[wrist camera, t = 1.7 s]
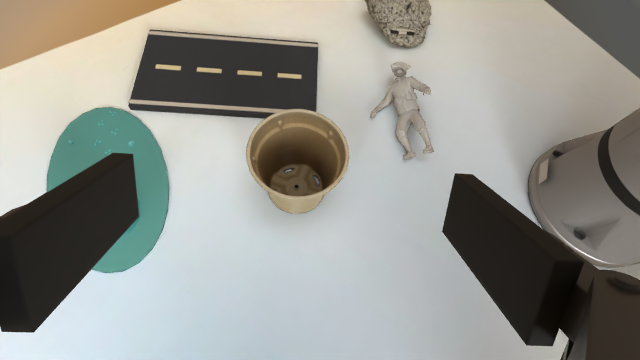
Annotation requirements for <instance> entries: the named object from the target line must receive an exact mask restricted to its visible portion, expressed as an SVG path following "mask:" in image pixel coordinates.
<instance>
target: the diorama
mask: <svg viewBox="0 0 640 360" xmlns="http://www.w3.org/2000/svg"><path fill="white" fill-rule="evenodd" d="M111 153H128V154H133V158H134V168H135V178H136V189H137V199H138V209H139V217H138V219H137V220H136V221H135V222H134V223H133V224H132V225H131V226H130V227H129V228H128V230H127V231H126V232H125V233H124V234H123V235H122V236H121V237H120V238H119V239H118V240H117V242H116V243H115V244H114V245H113V246H112V247H111V248H110V249H109V250H108V251H107V253H106V254H105V255H104V256H103V257H102V258H101V259H100V260H99V261H98V262H97V264H96V265H95V266H94V267H93V268H92V269H93V270H97V271H100V272H104V273H110V272H119V271H124V270H126V269H128V268H130V267H132V266H134V265H136V264H138V263H139V262H140V261H141V260H142V259H143V258H144V257H145V256H146V255H147V254H148V253H149V252H150V251H151V250H152V249H153V247H154V245H155V243H156V241H157V239H158V237H159V235H160V234H161V232H162V229H163V226H164V222H165V218H166V214H167V211H168V197H169V184H168V176H167V169H166V164H165V161H164V158H163V155H162V152H161V149H160V147H159V145H158V143H157V142H156V140H155V138H154V137H153V135H152V133H151V131H150V130H149V129H148V128H147V127H146V126H145V125H144V124H143V123H142V122H141V121H140V120H139V119H138V118H136V117H134V116H133V115H131V114H129V113H128V112H126V111H123V110H120V109H116V108H112V107H108V108H96V109H93V110H91V111H88V112H86V113H83V114H82V115H80V116H79V117H78V118H76V119H75V120H74V121H72V122H71V123H70V124H69V125H68V127H67V128H66V129H65V131H64V132H63V133H62V135H61V136H60V137H59V139H58V141H57V144H56V146H55V149H54V151H53V154H52V156H51V160H50V165H49V169H48V174H47V192H48V191H50V190H52V189H53V188H55V187H57V186H58V185H60V184H62V183H63V182H65V181H67V180H68V179H70V178H72V177H73V176H75V175H77V174H78V173H80V172H82V171H83V170H85V169H87V168H88V167H90V166H91V165H93V164H95V163H96V162H98V161H100V160H101V159H103V158H105V157H106V156H108V155H110V154H111Z"/></svg>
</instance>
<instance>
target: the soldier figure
mask: <svg viewBox="0 0 640 360" xmlns="http://www.w3.org/2000/svg"><path fill="white" fill-rule="evenodd" d="M391 68H392V71H393V73H394V76H397V77H400V78H396V79H395V82H394V83H393V84H391V85H390V87H389V89H388V92H387V95H386V97H385V98H384V100H383V101H382V102H381V103H380V104H379V105H378V106H377V107H376V108H375V109H374V111H372V113H371V117H372V115H373V116H374V117H375V115H376V113H377V111H381V110H382V109H383V108H385V107H386V106H387V105H388V104H390V102H391V101H392V99H393V98H395V99H394V105H395V107H396V108H397V111H398V116H399V120H398V123H397V127H396V135H397V136H398V141H400V142H401V143H402V144H403V146H404V147H405V149H406V150H407V152H408V153H407V155H404V156H403V159H409V158H410V159H411V158H414V157H416V156H415V153H414V152H413V150H412V148H411V146H410V143H409V140H408V138H407V135H406V133H407V131H408V129H409V126H410V124H411V123H413V125H414V127H415V129H416V130H417V131H418V132H419V134H420V135H421V137H422V139H423V141H424V142H425V144H426V149H424V150H423V153H424V154H427V153H432V152H434V150H433V148H432V146H431V141H430V138H429V134H428V131H427V128H426V124H425V121H424V120H423V118H422V116H421V115H420V113H419V111H420V109H419V107H418V104H417V102H416V100H417V96H416V93H415V92H414V88H415V89H417V90H419V91H420V92H423V95H424V93H425V94H428V95H429V93H430V94H431V90H430V88H429V87H428V86H426V85H425V84H423V83H421V82H419V81H418V80H416V79H415V78H413V77H412V76H411V77H405V76H406V70H407V69H409V68H411V67H410V66H409V65H407V64H406V63H402V62H400V63H399V62H397V63H394V64H392V65H391Z"/></svg>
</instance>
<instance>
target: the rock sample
mask: <svg viewBox="0 0 640 360" xmlns="http://www.w3.org/2000/svg"><path fill="white" fill-rule="evenodd" d="M362 1H363V0H362ZM365 2H366V3H367V7H368V8H367V9H368V11H369V14H370V15H371V16H372V17H373V19H374V20H375V21H376V22H377V23H378V24H379V26H380V27H381V29H382V32H383V34H384V35H385V36H386V37H387V39H388V40H389V42H390V43H393V44H397V45H400V46H405V47H406V48H411V47H414V46H417V45H418V44H420V43H422V42H423V41H424V39H425V35H426V28H427V26H428V25H429V24H430V20H429V17H430V16H431V12H430V10H431V6H430V4H429V1H428V0H365ZM430 25H431V24H430Z"/></svg>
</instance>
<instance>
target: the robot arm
mask: <svg viewBox="0 0 640 360" xmlns="http://www.w3.org/2000/svg"><path fill="white" fill-rule="evenodd" d="M528 188H529V197H530V201H531V205H532V208H533V210H534V213H535V215H536V217H537V219H538V220H539V222H540V224H541V225H542V227H543V228H544V230H543V229H541V228H540V227H539V226H538V225H536V224H535V223H534V222H532V221H531V220H530V219H529V218H527V217H526V216H525V215H524V214H522V213H521V212H520V211H518V210H517V209H516V208H515V207H513V206H512V205H511V204H509V203H508V202H507V201H506V200H504V199H503V198H502V197H501V196H499V195H498V194H497V193H495V192H494V191H493V190H492V189H490V188H489V187H488V186H487V185H485V184H484V183H483V182H481V181H480V180H479V179H478V178H476V177H475V176H474V175H472V174H455V176H454V180H453V185H452V189H451V194H450V198H449V203H448V208H447V212H446V217H445V221H444V226H443V230H442V232H443V233H444V235H445V236H446V237H447V239H448V240H449V241H450V243H451V244H452V245H453V247H454V248H455V249H456V251H457V252H458V253H459V255H460V256H461V258H462V259H463V260H464V262H465V263H466V264H467V266H468V267H469V268H470V270H471V271H472V272H473V274H474V275H475V276H476V278H477V279H478V280H479V282H480V283H481V285H482V286H483V287H484V289H485V290H486V291H487V293H488V294H489V295H490V297H491V298H492V299H493V301H494V302H495V303H496V305H497V306H498V308H499V309H500V310H501V312H502V313H503V314H504V316H505V317H506V318H507V320H508V321H509V322H510V324H511V325H512V326H513V328H514V329H515V330H516V332H517V333H518V335H519V336H520V337H521V339H522V340H523V341H524V343H525V344H526V345H531V346H553V343H554V341H555V338H556V335H557V333H558V330H559V328H560V329H561V330H562V331H563V332H564V334H565V335H566V336H567V337H568V338H569V340H568V342H567V345H566V347H565V350H564V352H563V355H562V357H561V360H640V280H639V279H637V278H634V277H632V276H630V275H627V274H624V273H620V272H617V271H612V270H599V269H597V268H596V267H595V266H593V265H592V264H594V265H598V266H603V267H624V266H628V265H632V264H636V263H640V108H639V109H638V110H636V111H635V112H633V113H632V114H630V115H629V116H627V117H626V118H624V119H622V120H621V121H620V122H618V123H617V124H615V125H614V126H612V127H611V128H609V129H608V130H605V131H601V132H598V133H594V134H590V135H587V136H583V137H580V138H576V139H572V140H569V141H566V142H563V143H561V144H559V145H557V146H555V147H553V148H552V149H550V150H549V151H548V152H546V153H545V154H544V155H542V156H541V157H540V158H539V159H538V160H537V161H536V163H535V164H534V166H533V168H532V170H531V173H530V177H529V186H528ZM138 217H139V209H138V199H137V189H136V178H135V168H134V158H133V154H128V153H111V154H110V155H108V156H106V157H105V158H103V159H101V160H100V161H98V162H96V163H95V164H93V165H91V166H90V167H88V168H87V169H85V170H83V171H82V172H80V173H78V174H77V175H75V176H73V177H72V178H70V179H68V180H67V181H65V182H63V183H62V184H60V185H58V186H57V187H55V188H53V189H52V190H50V191H48V192H47V193H45V194H43V195H42V196H40V197H38V198H37V199H35V200H33V201H32V202H30V203H28V204H27V205H24V206H21V207H18V208H15V209H12V210H11V211H9V212H7V213H6V214H4V215H2V216H0V327H1V331H2V332H35V330H36V329H37V328H38V327H39V326H40V325H41V324H42V323H43V322H44V321H45V320H46V318H47V317H48V316H49V315H50V314H51V313H52V312H53V311H54V310H55V309H56V307H57V306H58V305H59V304H60V303H61V302H62V301H63V300H64V299H65V298H66V296H67V295H68V294H69V293H70V292H71V291H72V290H73V289H74V288H75V287H76V285H77V284H78V283H79V282H80V281H81V280H82V279H83V278H84V277H85V276H86V275H87V273H88V272H89V271H90V270H91V269H92V268H93V267H94V266H95V265H96V264H97V262H98V261H99V260H100V259H101V258H102V257H103V256H104V255H105V254H106V253H107V251H108V250H109V249H110V248H111V247H112V246H113V245H114V244H115V243H116V242H117V240H118V239H119V238H120V237H121V236H122V235H123V234H124V233H125V232H126V231H127V230H128V228H129V227H130V226H131V225H132V224H133V223H134V222H135V221H136V220H137V219H138Z"/></svg>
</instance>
